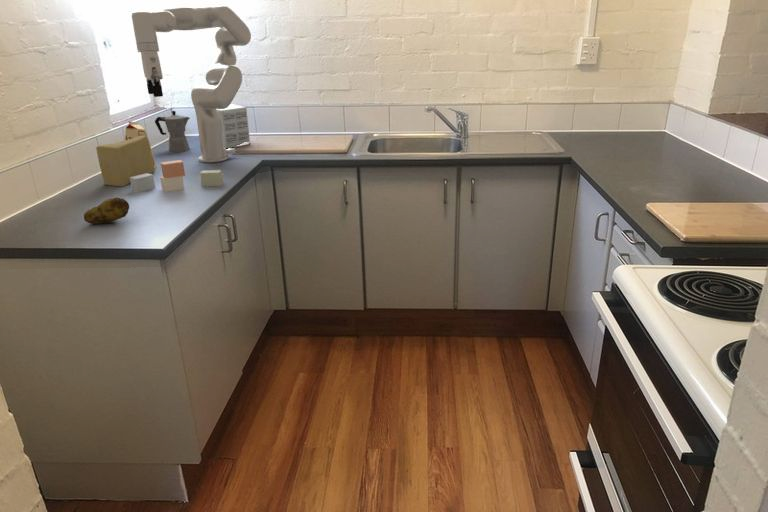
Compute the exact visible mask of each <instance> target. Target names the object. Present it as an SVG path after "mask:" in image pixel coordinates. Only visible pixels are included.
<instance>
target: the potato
mask: <svg viewBox="0 0 768 512" xmlns="http://www.w3.org/2000/svg"><path fill="white" fill-rule="evenodd" d="M129 209H130V204H129V202H128V201H127V200H125V198H120V197H113V198H108V199H106V200H104V201H102V202H101V203H100V204H99V205H97V206H95V207H93V208H90V209H88V210H86V211H85V212H84V213H83V220H84V221H85V222H86V223H87V224H92V225H96V224H108V223H110V224H111V223H113V222H115V221H117V220H119V219H120V220H121V219H122V218H125V217H126V216H127V215H128V214H129Z"/></svg>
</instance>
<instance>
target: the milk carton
mask: <svg viewBox="0 0 768 512" xmlns="http://www.w3.org/2000/svg"><path fill="white" fill-rule="evenodd" d="M138 136H147V138H148V141H149V145H150V149H151V153H152V157H153V163H154V169H156V168H157V164H156V161H155V156H154V154H153V150H152V145H151V142H150V140H149V137H148V134H147V132H146V129H145V128H144V127H142V125H140V122H139V121H137V122H135V121H134V122H133V121H130V120H128V125H126V127H125V139H124V141H125V140H128V139H132V138H135V137H138Z"/></svg>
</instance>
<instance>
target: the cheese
mask: <svg viewBox="0 0 768 512" xmlns="http://www.w3.org/2000/svg"><path fill="white" fill-rule="evenodd" d="M147 137H148V135H147V136H138V137H135V138H132V139H128V140H125V139H124V140H122V141H118V142H114V143H113V142H112V143H106V144H103V145H102V144H101V145H97V146H95V147H96V154H97V158H98V163H99V167H100V172H101V176H102V177H101V178H102V180H103V184H104V185H106V186H114V187H115V186H116V187H124V186H126V185H129V184H131V182H130V177H133V176H138V175H142V174H146V173H148V174H152V173H154V172H155V168H154V163H153V157H152V153H153V152H152V153H151V149H152V148H151V149H150V146H151V144H150V145H149V142H150V140H149V137H148V138H147ZM148 140H149V141H148Z"/></svg>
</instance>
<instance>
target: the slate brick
mask: <svg viewBox="0 0 768 512" xmlns="http://www.w3.org/2000/svg"><path fill="white" fill-rule="evenodd" d="M130 182H131V183H130V187H131V191H133V192H137V193H140V192H144V191H148V190H152V189H155V188H156V184H155V178H154V174H152V173H151V174H148V173H146V174H142V175H138V176H133V177H130Z"/></svg>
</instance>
